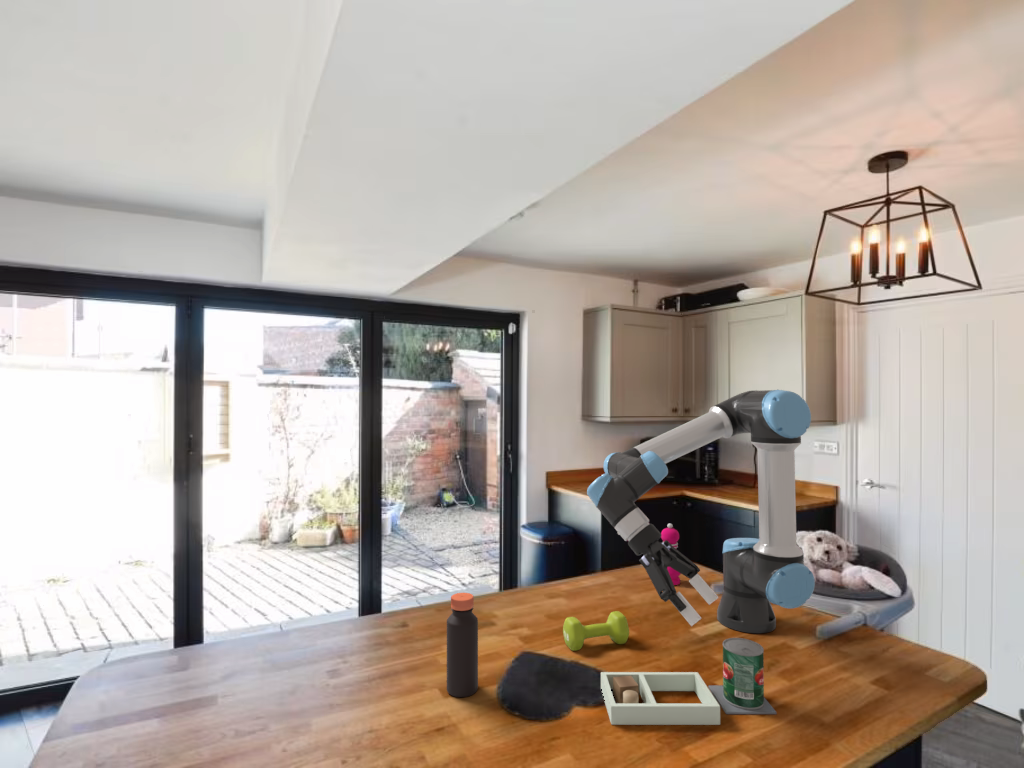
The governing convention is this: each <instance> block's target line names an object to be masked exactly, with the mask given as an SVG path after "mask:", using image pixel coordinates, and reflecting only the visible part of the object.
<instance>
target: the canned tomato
mask: <svg viewBox="0 0 1024 768" xmlns="http://www.w3.org/2000/svg"><path fill="white" fill-rule="evenodd" d="M764 651H765V650H764V646H762V644H760V643H758V642H756V641H754V640H751V639H747V638H744V637H743V638H742V637H729V638H726V639H724V640H723V641H722V668H723V669H722V685H723V697H724V699H725V700H726V701H727V702H728V703H730V704H731V705H733V706H735V707H738V708H742V709H748V710H755V709H759V708H761V707H763V705H764V698H765V693H764V692H765V689H764V688H765V687H764V686H765V684H764V681H765V680H764V679H765V677H764V671H765V670H764V667H765V665H764V661H765V660H764V659H765V658H764Z"/></svg>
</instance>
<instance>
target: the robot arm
mask: <svg viewBox="0 0 1024 768" xmlns="http://www.w3.org/2000/svg"><path fill="white" fill-rule="evenodd" d="M810 409H811V408H810V407H809V405H808V403H807V402H806V400H805V398H804V399H803V397H802V396H801V395H800V394H798V393H796V392H793V391H791V390H784V389H783V390H782V389H771V390H757V389H756V390H747V391H743V392H740V393H737V394H736V395H733V396H732V397H729V398H727V399H725V400H723V401H721V402H720V403H717V404H715V405H713V406H711V407H710V408H709V410H708V412H706V413H705V414H702V415H700V416H697V417H696V418H694V419H691V420H690V421H687V422H686V423H683V424H681V425H678V426H677V427H675V428H673V429H670V430H668V431H665V432H664V433H661V434H659V435H656V436H655V437H652V438H650V439H649V440H646V441H644V442H642V443H640V444H638V445H635V446H634V447H631V448H629V449H627V450H625V451H622V452H619V451H618V452H616V451H615V452H612V453H610V454H608V455H607V456H606V457H605V459H604V461H603V471H604V473H603V474H601V476H598V477H597V478H596V479H594V481H592V482H591V483H590V485H588V487H587V488H586V489H587V490H586V495H587V496H588V497H589V499H590V500H591V502H592V503H593V504H594V506H595V507H596V509H597V510H599V512H600V513H601V514H602V515H603V516H604V518H605V519H606V520H607V521H608V523H609V524H610V525H611V526H612V527H613V528H614V529H615V531H616V532H617V533H616V534H617V535H618V536H620V537H621V538H622V539H623V540H624V541H625V542H627V545H628V546H629V548H630V549H631V551H633V552H634V555H636V556H641V555H642V554H643V556H642V557H641V558H640V559H639V560H638V561H639V562H640V564H641V565H642V567H643V568H644V569H645V571H646V574H647V575H648V577H649V579H650V581H651V584H652V585H653V587H654V589H655V590H656V592H657V595H658V596H659V598H660V599H661V600H662V601H663V602H665V603H666V602H668V601H670V603H671V604H672V605H673V606H674V607H675V609H676V610H678V613H680V614H681V616H682V617H683V618H684V619H685V621H686V622H687V623H688V625H690V627H693V626H694V625H695V624H697V623H698V622H699V621H701V619H702V617H701V616H700V614H699V613H698V611H696V610H695V608H694V607H693V606H692V605H691V603H690V602H689V601H688V600H687V598H686V597H685V596H684V595H683V594H682V593H681V591H677V590H676V588H675V587H676V586H674V584H673V582H672V579H671V577H670V574H669V572H668V569H667V567H671V568H673V569H674V570H676V571H678V572H679V573H681V574H680V575H683V576H685V577H686V578H688V579H689V580H688V583H690V585H691V586H692V587H693V588H694V589H695V591H696V592H697V593H698V594H699V595H700V597H702V598H703V600H704V601H705V602H706V603H707V604H708V605H709V606H710V605H711V604H713V603H714V602H715V601H716V600H718V599H719V596H718V595H717V593H715V591H714V590H713V589H712V588H711V587H710V586H709V584H708V583H707V582H706V581H705V580H704V579H703V577H702V576H700V574H699V572H701V569H700V567H698V565H697V564H696V563H694V562H693V561H692V560H691V559H689V558H688V557H687V556H685V555H684V554H683V553H682V552H680V550H678V549H675V548H674V547H673V546H672V545H671V544H670V543H669V542H668V541H667V540H665V541H662V542H661V541H660V539H662V538H661V536H662V535H661V532H660V531H659V529H658V528H656V526H655V525H654V524H652V523H650V519H649V518H648V517H647V515H646V514H645V513H644V512H643V510H641V509H640V508H639V507H638V505H637V504H635V502H637V500H639V499H640V498H641V497H642V496H644V495H645V494H646V493H648V492H649V491H651V490H652V488H654V487H655V486H657V485H658V484H660V483H661V481H663V479H665V477H667V476H668V474H669V469H668V466H667V464H668V463H670V462H672V461H674V460H676V459H678V458H680V457H682V456H685V455H687V454H689V453H691V452H693V451H695V450H697V449H699V448H701V447H704V446H706V445H708V444H710V443H713V442H714V441H716V440H719V439H721V438H724V439H729V438H731V437H734V436H736V435H740V434H750V443H751V444H752V445H753V446H754V447H755V448H756V450H757V483H758V484H757V487H758V488H757V489H758V492H757V493H758V494H757V495H758V538H755V537H732V538H728V539H725V540H724V542H723V545H722V565H723V568H722V569H723V570H722V571H723V572H722V574H723V575H722V577H723V579H722V580H723V591H722V595H721V597H720V601H719V604H718V607H717V610H716V619H717V621H718V622H719V623H720V624H721V625H723V626H725V627H726V628H729V629H731V630H735V631H739V632H742V633H750V634H765V633H766V634H767V633H770V632H773V631H775V629H776V628H777V619H776V614H775V612H774V608H773V606H772V604H773V605H776V606H779V607H781V608H783V609H791V610H792V609H796V608H800V607H802V606H803V605H805V604H806V602H807V600H810V598H812V597H811V596H812V595H813V593H814V590H815V587H816V586H815V585H816V581H815V576H814V574H813V572H812V570H810V568H809V567H808V566H806V565H805V563H804V561H805V560H804V557H805V556H804V550H803V549H801V547H800V546H799V545H798V544H797V511H796V510H797V509H796V503H797V502H796V464H795V461H796V460H795V458H796V457H795V451H796V449H797V448H798V447H799V446H800V445H801V444H802V437H801V436H804V435H805V434H806V433H807V430H808V429H809V428H810V426H811V422H812V412H811V410H810ZM669 550H670V551H669Z"/></svg>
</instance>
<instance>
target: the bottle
mask: <svg viewBox="0 0 1024 768" xmlns="http://www.w3.org/2000/svg"><path fill="white" fill-rule="evenodd" d="M474 600H475V598H474V595H473V594H472V593H470V592H457V593H454V594H453V595H451V597H450V607H451V608H450V609H451V610H450V611H452V613H451V614H450V615H449V617H447V619H446V691H447V693H448V694H449V695H451V696H452V697H455V698H467V697H470V696H472V695H474V694H475V693H476V692H477V691H478V687H479V620H478V617H477V615H475V613H474V612H473V610H474V607H475V606H474V603H475V602H474Z"/></svg>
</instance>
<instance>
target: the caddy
mask: <svg viewBox="0 0 1024 768" xmlns="http://www.w3.org/2000/svg"><path fill="white" fill-rule="evenodd" d="M622 676H632V678H633V679H634V680H635V682H636V683H637V684H638V692H639V695H640V697H641V700H642V703H617V702H616V699H615V698H614V696H613V691H611V689H613V677H622ZM601 689H602V691H601V694H602V693H603V694H602V697H603V696H604V698H603V701H604V700H605V701H604V704H605V708H606V711H607V714H608V718H609V722H610V724H611V726H612V725H614V726H615V725H616V726H617V725H620V726H621V725H626V726H627V725H628V726H630V725H631V726H635V725H637V726H640V725H641V726H642V725H644V726H645V725H646V726H648V725H649V726H651V725H653V726H655V725H656V726H657V725H658V726H664V725H666V726H671V725H672V726H673V725H675V726H678V725H681V726H683V725H684V726H685V725H686V726H687V725H689V726H690V725H691V726H693V725H694V726H696V725H697V726H699V725H700V726H703V725H705V726H709V725H710V726H711V725H713V726H714V725H715V726H719V725H721V705H720V704H719V702H718V701H717V699H716V698H715V696H714V695H713V693H712V692H711V690H710V689H709V687H708V686H707V684H706V683H705V681H704V680H703V678H702V676H701V675H700V674H699V672H698V671H697V672H696V671H694V672H693V671H688V672H687V671H685V672H684V671H681V672H680V671H673V672H671V671H662V672H661V671H655V672H653V671H650V672H649V671H636V672H635V671H630V672H629V671H601V672H600V690H601ZM653 692H695V694H696V696H697V697H698V699H699V701H700V702H701V703H696V702H695V703H694V702H693V703H683V702H682V703H681V702H680V703H678V702H677V703H675V702H674V703H672V702H671V703H667V702H666V703H664V702H663V703H658V702H657V701H656V699H655V696H654V695H653Z"/></svg>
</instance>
